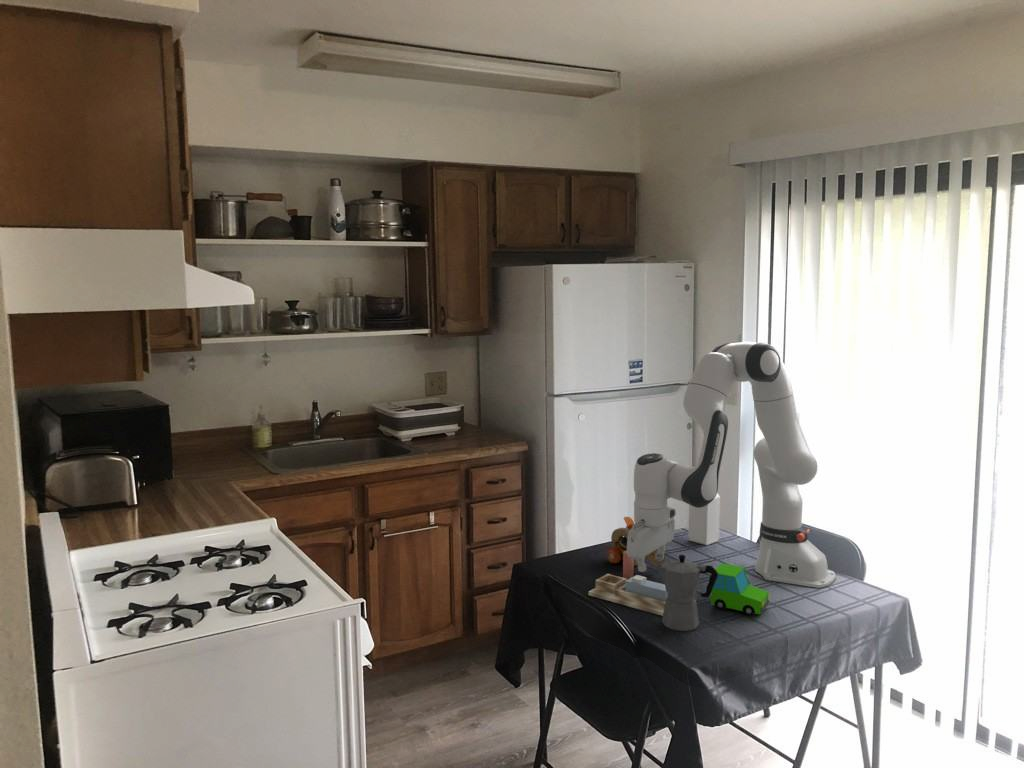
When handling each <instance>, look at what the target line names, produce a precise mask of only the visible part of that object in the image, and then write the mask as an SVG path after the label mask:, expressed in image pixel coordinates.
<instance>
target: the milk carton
mask: <svg viewBox="0 0 1024 768" xmlns="http://www.w3.org/2000/svg"><path fill="white" fill-rule="evenodd" d="M688 505H689V504H688ZM688 510H689V511H688V537H687V539H688V541H690V542H693V543H697V544H701V545H704V546H709V545H711V544H714V543H716V542H718V541H720V520H721V519H720V518H721V517H720V513H721V496H720V494H719V493H718V492H717V494H716V497H715V498H714V499H713V501H712V502H710V503H709V504H708V505H706V506H704V507H701V508H697V507H694V506H692V505H689V509H688Z"/></svg>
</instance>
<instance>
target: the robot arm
mask: <svg viewBox="0 0 1024 768" xmlns="http://www.w3.org/2000/svg"><path fill="white" fill-rule="evenodd" d="M735 382H739V383H741V382H743V383H744V382H745V383H746V382H749V384H750V385H751V393H752V399H753V406H754V411H755V415H756V416H755V417H756V421H757V426H758V429H760V431H761V433H762V435H763V438H762V439H760V440H758V441H757V443H756V445H755V446H754V449H753V457H754V458H753V459H754V461H755V463H756V465H757V469H758V476H759V481H760V482H759V483H760V485H761V493H762V512H761V515H762V516H761V522H760V525H759V541H760V544H759V549H758V553H757V559H756V563H755V565H754V570H755V572H757V573H758V574H759V575H761V576H763V578H764V580H766V581H773V582H778V583H786V584H791V585H798V586H803V587H811V588H815V589H816V588H817V589H819V588H820V589H821V588H824V587H828V586H831V585H832V584H833V583H834V582H835V581H836V578H837V577H836V573H835V571H833V570H831V569H829V568H828V560H827V557H826V555H825V554H824V552H822V550H819V548H817V547H816V546H815V545H814V544H813V543H812V542H811V541H810V540H808V538H809V537H808V535H809V533H810V528H808V529H807V530H806V529H805V527H804V526H803V523H802V519H803V498H802V497H803V496H802V495H801V493H800V489H799V487H798V486H801V485H802V486H803V485H806V484H809V483H811V482H812V480H813V479H814V478H815V477H816V476H817V473H818V462H817V460H816V458H815V456H814V455H813V454H812V452H811V450H810V448H809V445H808V443H807V439H806V437H805V435H804V432H803V430H802V427H801V425H800V422H799V417H798V414H797V409H796V408H797V407H796V403H795V397H794V392H793V387H792V383H791V379H790V375H789V373H788V370H787V367H786V365H785V363H784V362H783V361H782V360H781V356H780V353H779V351H778V350H777V348H776V347H774V346H772V345H771V344H769V343H766V342H752V341H742V342H733V343H732V342H731V343H730V342H726V343H722V344H719V345H718V346H716V347H714V349H713V350H712V351H711V352H707V353H706V354H704V355H703V356H702V357H701V359H700V360H699V362H698V364H697V366H696V367H695V369H694V371H693V373H692V376H691V378H690V380H689V382H688V385H687V387H686V389H685V393H684V396H683V408H684V410H685V413H686V414H687V415H688V417H689V418H690V419H691V420H692V421H693V422H695V424H697V425H698V426H699V427H700V428H701V430H702V433H703V439H702V444H701V449H700V453H699V458H698V462H697V464H696V465H695V466H692V465H687V464H684V463H681V462H677V461H673V460H670V459H668V458H667V457H665V455H663V454H661V453H655V452H653V453H652V452H651V453H646V454H643V455H641V456H639V457H638V458H637V460H636V462H635V465H634V468H633V469H634V471H633V491H634V496H635V497H634V498H635V499H634V502H633V522H634V524H633V527H632V529H631V530H630V531H629V533H628V539H627V556H628V557H629V558H631V559H635V560H636V562H637V564H638V565H637V570H638V572H641V573H643V572H646V571H647V569H648V568H647V567H648V564H647V563H645V560H646V557H645V556H646V555H648V554H650V553H651V552H653V551H655V550H656V549H657V553H656V554H655V557H656V558H655V559H656V561H662V560H663V559H664V553H665V551H666V549H667V544H668V543H670V542H671V541H673V540H674V537H675V531H676V519H675V517H676V515H677V513H676V512H677V510H676V508H675V507H671V506H669V505H668V500H669V499H671V498H672V499H673V500H676V501H680V502H683V503H685V504H687V505H692V506H694V507H697V508H701V507H704V506H706V505H708V504H709V503H710V502H712V501H713V499H714V498H715V497H716V494H717V493H718V492H719V475H720V469H721V464H722V459H723V455H724V449H725V445H726V440H727V436H728V435H727V434H728V429H729V420H728V417H727V415H726V403H727V400H728V398H729V394H730V391H731V388H732V385H733V383H735Z"/></svg>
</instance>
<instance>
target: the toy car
mask: <svg viewBox="0 0 1024 768" xmlns="http://www.w3.org/2000/svg"><path fill="white" fill-rule="evenodd" d="M714 569H715V570H716V571H717V572H718V577H717V579H716V582H715V584H714V587H713V589H712V592H711V594H710V605H713V606H714V607H715V608H716V609H717V610H718V609H719V610H718V611H724V610H725V609H732V610H736V611H740V612H743V614H744V615H745V616H747V617H753V616H754V615H761V614H762V613H763V611H764V610H765V609H766V608H767V607H768V605H769V604H770V597H771V596H770V592H769V591H768V590H765V589H762V588H760V587H757V586H754V585H751V584H750V581H749V578H748V575H747V571H746V568H745V567H744V566H739V565H735V564H729V563H725V562H724V563H723V562H721V563H720V564H719V565H718V566H717V567H716V568H714Z"/></svg>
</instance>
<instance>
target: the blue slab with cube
mask: <svg viewBox="0 0 1024 768" xmlns="http://www.w3.org/2000/svg"><path fill="white" fill-rule="evenodd" d="M647 579H648V578H647V577H646V576H643V575H639V574H636V575H633V577H631V578H630V579H628V580H626V584H625V591H627V592H631V593H634V594H638V595H642V596H646V597H649V598H653V599H657V600H661V601H664V602H666V599H667V597H668V592H667V591H666V588H665V583H664V584H663V583H660V582H656V581H652V580H647Z"/></svg>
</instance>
